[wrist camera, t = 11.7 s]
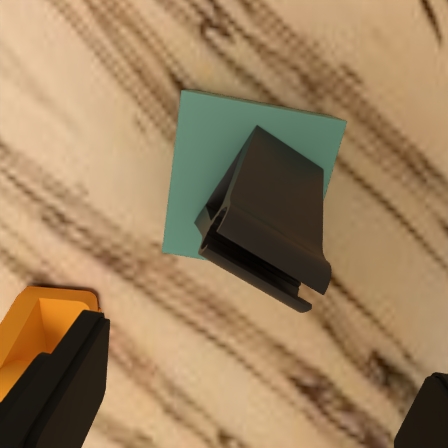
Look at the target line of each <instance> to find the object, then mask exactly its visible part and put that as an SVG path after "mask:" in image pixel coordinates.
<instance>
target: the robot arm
mask: <svg viewBox="0 0 448 448" xmlns="http://www.w3.org/2000/svg"><path fill="white" fill-rule="evenodd" d="M109 330H110V320H109V319H105V318H104V313H102V312H96V311H90V310H85V309H84V310H82V312H81V313H80V314H79V316H78V317H77V318H76V320H75V321H74V322H73V324H72V325H71V327H70V328H69V329H68V331H67V332H66V334H65V335H64V336H63V338H62V339H61V341H60V342H59V343H58V345H57V346H56V347H55V349H54V350H53V352H52V353H51V354H50V353H45V352H41V353H40V354H38V355H37V356H36V357H35V358H34V359H33V361H32V362H31V363H30V365H29V366H28V367H27V369H26V370H25V371H24V372H23V374H22V375H21V376H20V378H19V379H18V380H17V382H16V383H15V384H14V385H13V387H12V388H11V389H10V391H9V392H8V393H7V395H6V396H5V397H4V398H3V400H2V401H1V402H0V448H81V447H82V445H83V443H84V441H85V438H86V436H87V434H88V432H89V429H90V427H91V425H92V423H93V421H94V418H95V416H96V414H97V412H98V409H99V407H100V405H101V403H102V400H103V397H104V394H105V390H106V377H107V361H108V346H109ZM394 448H448V374H444V373H438V372H435V373H433V374H432V375H431V376H428V377H427V378H426V379H425V381H424V383H423V385H422V386H421V388H420V390H419V392H418V394H417V396H416V398H415V400H414V402H413V404H412V406H411V408H410V410H409V412H408V414H407V416H406V418H405V420H404V421H403V423H402V425H401V427H400V429H399V431H398V433H397V435H396V437H395V440H394Z"/></svg>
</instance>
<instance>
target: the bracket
mask: <svg viewBox="0 0 448 448" xmlns="http://www.w3.org/2000/svg"><path fill="white" fill-rule="evenodd" d="M84 309H85V310H90V311H96V312H101V308H98V305H97V298H96V296H95V295H94V294H93V293H91V292H89V291H80V290H69V289H57V288H45V287H34V286H27V287H26V288H25V289H24V290H23V291H22V292H21V293H20V294H19V295H18V296H17V298H16V299H15V301H14V303H13V304H12V306H11V307H10V309H9V311H8V312H7V314H6V316H5V317H4V319H3V321H2V322H1V324H0V402H1V401H2V400H3V398H4V397H5V396H6V395H7V393H8V392H9V391H10V389H11V388H12V387H13V385H14V384H15V383H16V382H17V380H18V379H19V378H20V376H21V375H22V374H23V372H24V371H25V370H26V369H27V367H28V366H29V365H30V363H31V362H32V361H33V359H34V358H35V357H36V356H37V355H38V354H40V353H41V352H45V353H50V354H51V353H52V352H53V350H54V349H55V347H56V346H57V345H58V343H59V342H60V341H61V339H62V338H63V336H64V335H65V334H66V332H67V331H68V329H69V328H70V327H71V325H72V324H73V322H74V321H75V320H76V318H77V317H78V316H79V314H80V313H81V312H82V310H84Z"/></svg>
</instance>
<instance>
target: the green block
mask: <svg viewBox="0 0 448 448" xmlns="http://www.w3.org/2000/svg"><path fill="white" fill-rule="evenodd" d="M346 124H347V121H344V120H342V119H339V118H336V117H333V116H331V115H325V114H320V113H315V112H309V111H304V110H299V109H293V108H288V107H283V106H277V105H272V104H267V103H262V102H256V101H251V100H246V99H240V98H235V97H230V96H224V95H219V94H214V93H208V92H203V91H198V90H193V89H189V90H181V99H180V107H179V115H178V123H177V132H176V140H175V148H174V157H173V165H172V173H171V182H170V190H169V198H168V206H167V215H166V223H165V231H164V240H163V248H162V252H164V253H169V254H175V255H181V256H186V257H192V258H197V259H203V260H207V259H206V258H204V257H202V256H200V255H199V254H198V251H199V248H200V245H201V242H202V235H201V233H200V231H199V230H198V228H197V227H196V225H195V223H194V222H195V220H196V218H197V217H198V215H199V213H200V212H201V210H202V209H203V207H204V206H205V204H206V203H207V201H208V199H209V198H210V196H211V195H212V193H213V192H214V190H215V189H216V187H217V185H218V184H219V182H220V181H221V179H222V178H223V177H224V175H225V173H226V171H227V170H228V168H229V167H230V165H231V164H232V162H233V161H234V159H235V157H236V156H237V154H238V153H239V151H240V150H241V148H242V147H243V145H244V144H245V142H246V140H247V139H248V137H249V136H250V134H251V133H252V131H253V130H254V128H255V127H256V125H258V126H259V127H261V128H262V129H264V130H265V131H267V132H269V133H270V134H272V135H273V136H275V137H276V138H278V139H279V140H281V141H282V142H284V143H285V144H287V145H288V146H290V147H291V148H293V149H294V150H296V151H297V152H299V153H300V154H302V155H303V156H305V157H306V158H308V159H309V160H311V161H312V162H314V163H315V164H317V165H318V166H320V167H321V168H323V169H324V184H323V201H324V197H325V194H326V191H327V187H328V184H329V181H330V177H331V174H332V171H333V167H334V164H335V160H336V157H337V154H338V150H339V147H340V144H341V140H342V137H343V134H344V130H345V127H346Z"/></svg>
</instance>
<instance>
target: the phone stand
mask: <svg viewBox="0 0 448 448" xmlns="http://www.w3.org/2000/svg"><path fill="white" fill-rule="evenodd" d="M323 184H324V169H323V168H321V167H320V166H318V165H317V164H315V163H314V162H312V161H311V160H309V159H308V158H306V157H305V156H303V155H302V154H300V153H299V152H297V151H296V150H294V149H293V148H291V147H290V146H288V145H287V144H285V143H284V142H282V141H281V140H279V139H278V138H276V137H275V136H273V135H272V134H270V133H269V132H267V131H265V130H264V129H262V128H261V127H259V126H258V125H256V127H255V128H254V130H253V131H252V133H251V134H250V136H249V137H248V139H247V140H246V142H245V144H244V145H243V147H242V148H241V150H240V151H239V153H238V154H237V156H236V157H235V159H234V161H233V162H232V164H231V165H230V167H229V168H228V170H227V171H226V173H225V175H224V177H223V178H222V179H221V181H220V182H219V184H218V185H217V187H216V189H215V190H214V192H213V193H212V195H211V196H210V198H209V199H208V201H207V203H206V204H205V206H204V207H203V209H202V210H201V212H200V213H199V215H198V217H197V218H196V220H195V222H194V223H195V225H196V227H197V228H198V230H199V231H200V233H201V235H202V242H201V245H200V248H199V251H198V254H199V255H200V256H202V257H204V258H206V259H207V260H209V261H211V262H213V263H214V264H216V265H218V266H220V267H221V268H223V269H225V270H226V271H228V272H230V273H232V274H233V275H235V276H237V277H239V278H240V279H242V280H244V281H246V282H247V283H249V284H251V285H253V286H254V287H256V288H258V289H260V290H261V291H263V292H265V293H266V294H268V295H270V296H272V297H273V298H275V299H277V300H279V301H280V302H282V303H284V304H286V305H287V306H289V307H291V308H293V309H294V310H296V311H298V312H300V313H304V312H307V311H309V310H311V309H312V304H310V303H309V302H307V301H305V300H303V299H302V298H300V297H298V291H299V286H300V285H301V282H302V283H303V284H305V285H307V286H309V287H310V288H312V289H314V290H315V291H317V292H319V293H320V294H322V295H324V294H325V292H326V290H327V288H328V285H329V282H330V279H331V265H330V263H329V262H328V261H327V260H326V259H325V257H324V254H323V248H322V243H323Z"/></svg>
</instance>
